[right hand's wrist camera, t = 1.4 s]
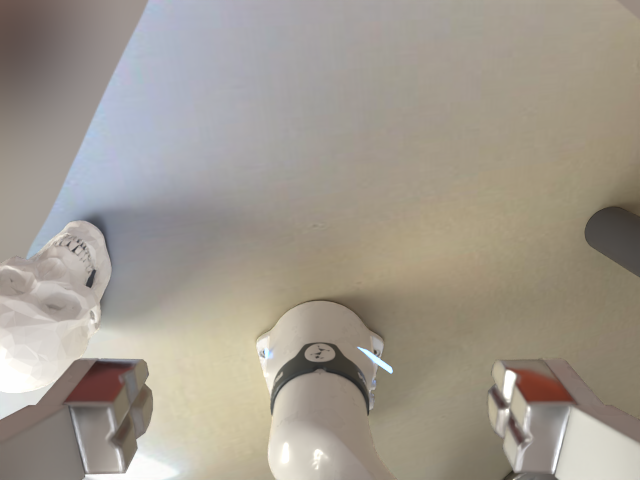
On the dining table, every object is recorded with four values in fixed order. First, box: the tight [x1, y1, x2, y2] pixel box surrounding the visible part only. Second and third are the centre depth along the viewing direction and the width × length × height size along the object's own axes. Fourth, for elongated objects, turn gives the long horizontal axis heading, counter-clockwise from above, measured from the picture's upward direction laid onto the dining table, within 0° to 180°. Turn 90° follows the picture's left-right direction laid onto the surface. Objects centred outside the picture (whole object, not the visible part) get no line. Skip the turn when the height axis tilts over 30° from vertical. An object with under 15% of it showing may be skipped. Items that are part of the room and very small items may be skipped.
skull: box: [0, 220, 112, 393], centre depth 55 cm, size 13×22×16 cm, turn 156°
